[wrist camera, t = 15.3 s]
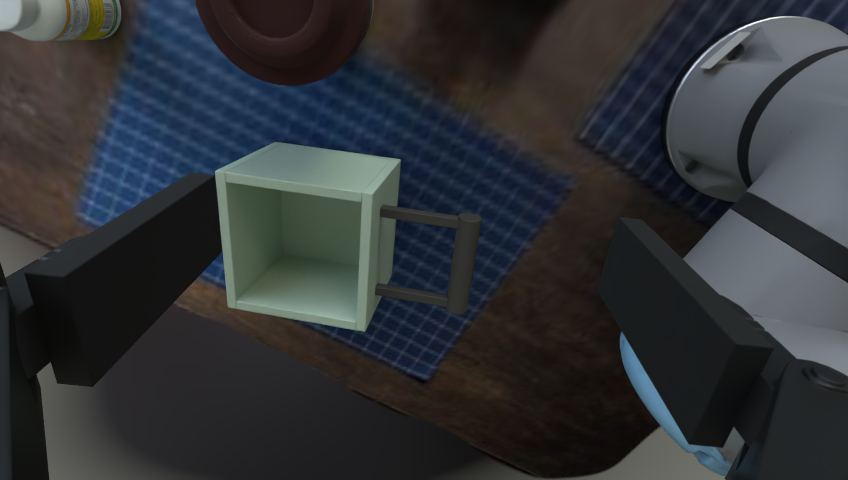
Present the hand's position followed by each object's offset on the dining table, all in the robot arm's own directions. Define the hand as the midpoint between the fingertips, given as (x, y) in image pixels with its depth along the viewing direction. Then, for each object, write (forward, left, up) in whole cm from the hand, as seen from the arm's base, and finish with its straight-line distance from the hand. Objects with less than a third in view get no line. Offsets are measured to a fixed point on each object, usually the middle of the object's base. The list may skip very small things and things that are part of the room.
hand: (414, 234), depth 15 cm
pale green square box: (+4, +11, -27) cm, 30 cm away
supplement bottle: (+29, -5, -29) cm, 41 cm away
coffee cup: (+9, -7, -29) cm, 31 cm away
